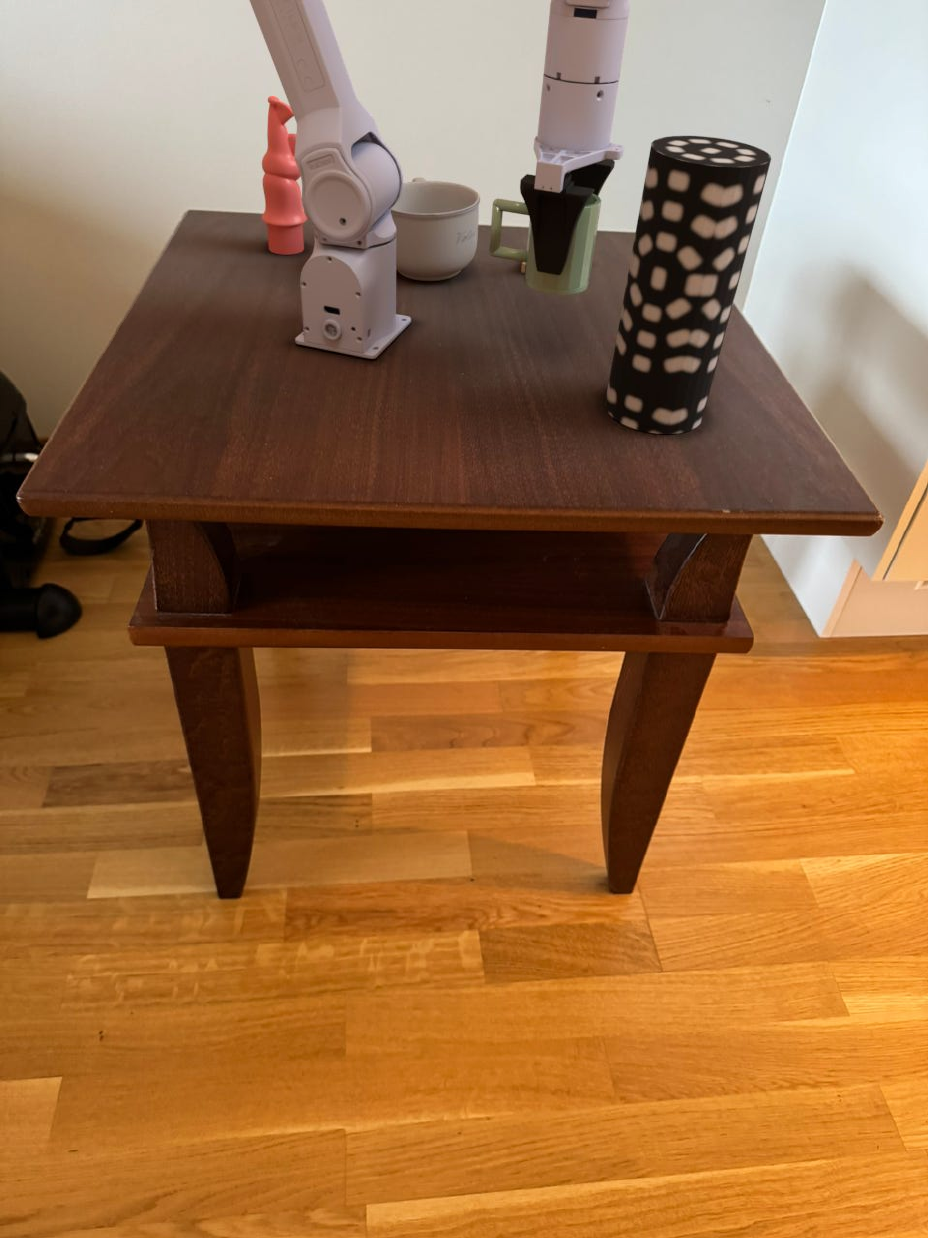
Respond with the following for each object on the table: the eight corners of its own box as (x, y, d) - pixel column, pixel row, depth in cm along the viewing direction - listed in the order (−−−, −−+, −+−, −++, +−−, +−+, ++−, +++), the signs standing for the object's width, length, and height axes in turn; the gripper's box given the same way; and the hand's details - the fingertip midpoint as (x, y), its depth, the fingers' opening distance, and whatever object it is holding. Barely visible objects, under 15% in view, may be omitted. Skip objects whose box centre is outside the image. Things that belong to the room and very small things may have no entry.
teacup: (474, 293, 91) (480, 212, 86) (371, 286, 91) (370, 205, 86) (476, 247, 102) (480, 173, 97) (383, 242, 102) (383, 167, 96)
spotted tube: (636, 378, 78) (686, 129, 65) (719, 410, 75) (790, 153, 62) (585, 409, 73) (628, 147, 60) (672, 445, 70) (738, 174, 57)
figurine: (320, 247, 99) (312, 96, 89) (290, 259, 96) (278, 104, 86) (285, 237, 101) (273, 88, 91) (255, 249, 98) (239, 95, 88)
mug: (594, 277, 77) (607, 193, 73) (580, 299, 73) (592, 211, 69) (497, 260, 79) (503, 177, 75) (478, 281, 75) (483, 194, 71)
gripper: (613, 100, 60) (584, 297, 69) (649, 67, 70) (620, 242, 79) (515, 88, 61) (499, 282, 70) (565, 57, 72) (545, 229, 80)
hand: (558, 260), depth 75 cm, fingers closed on mug, 5 cm apart
